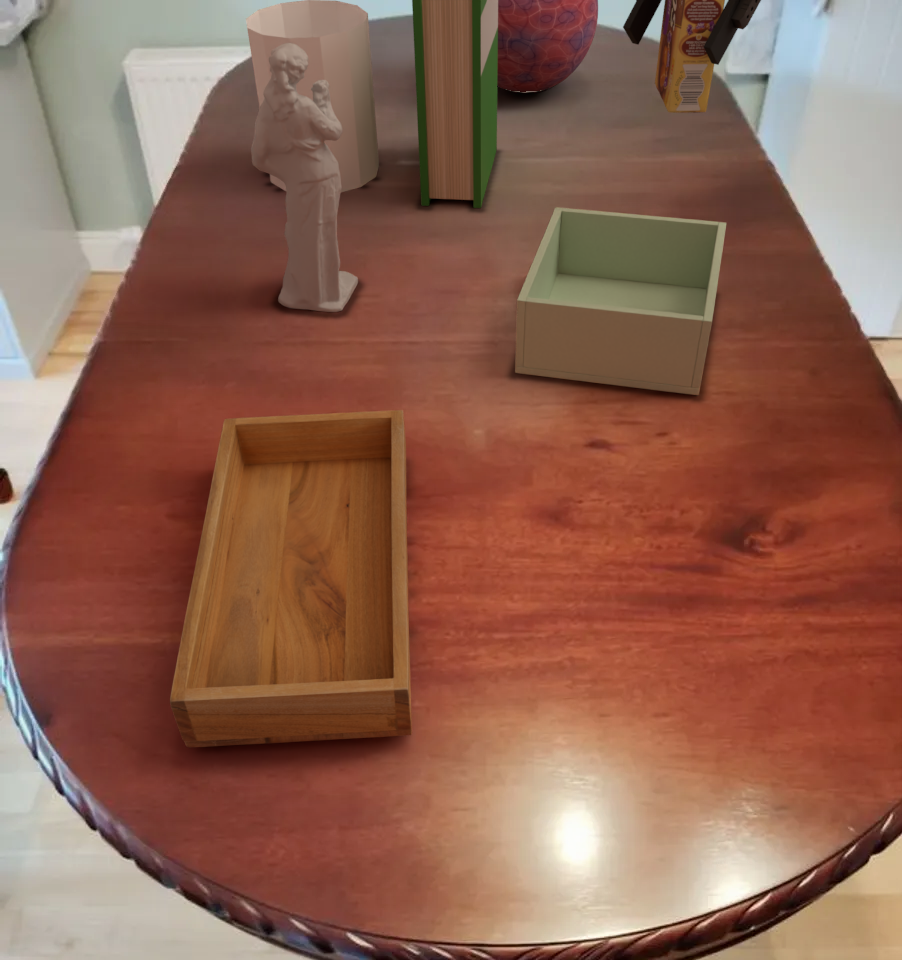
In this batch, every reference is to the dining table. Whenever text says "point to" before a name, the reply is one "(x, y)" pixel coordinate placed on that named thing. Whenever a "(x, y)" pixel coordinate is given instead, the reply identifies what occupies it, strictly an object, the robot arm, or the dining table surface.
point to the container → (326, 73)
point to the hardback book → (456, 96)
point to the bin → (620, 300)
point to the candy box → (686, 54)
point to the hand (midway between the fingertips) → (669, 45)
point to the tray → (300, 585)
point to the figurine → (304, 181)
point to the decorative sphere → (542, 41)
